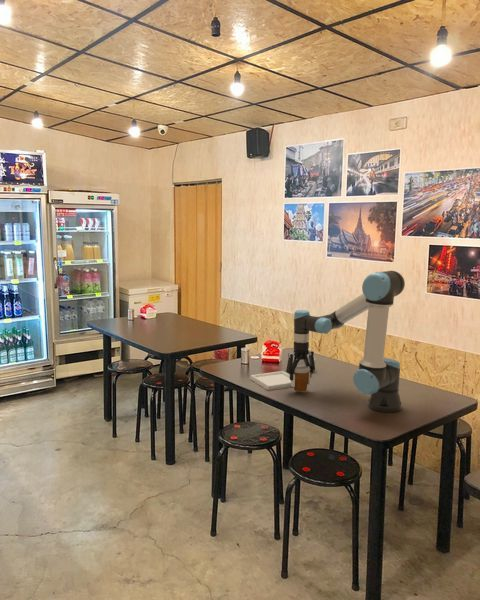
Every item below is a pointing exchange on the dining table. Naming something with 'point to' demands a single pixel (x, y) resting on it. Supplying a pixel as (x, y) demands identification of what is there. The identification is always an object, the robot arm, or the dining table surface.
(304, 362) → the teacup
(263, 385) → the tray
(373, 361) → the robot arm
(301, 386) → the disposable coffee cup
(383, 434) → the dining table surface
